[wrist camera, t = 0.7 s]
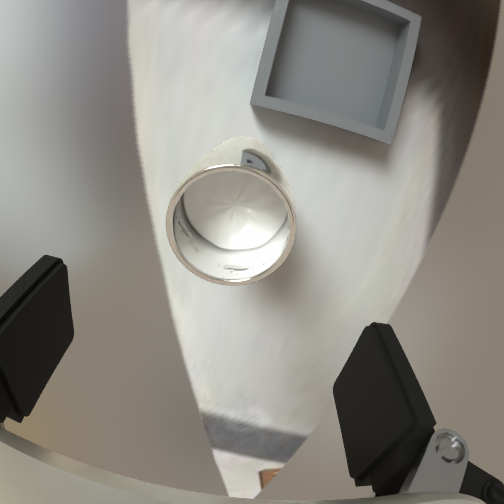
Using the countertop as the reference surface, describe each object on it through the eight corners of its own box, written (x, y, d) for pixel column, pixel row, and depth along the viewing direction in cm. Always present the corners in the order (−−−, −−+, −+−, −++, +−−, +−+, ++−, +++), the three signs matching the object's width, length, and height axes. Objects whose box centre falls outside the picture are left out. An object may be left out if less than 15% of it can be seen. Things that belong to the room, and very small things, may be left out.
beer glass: (243, 217, 32) (233, 311, 18) (189, 169, 30) (135, 231, 16) (295, 168, 29) (329, 229, 16) (240, 115, 27) (226, 128, 14)
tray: (282, -21, 21) (284, -32, 19) (407, 22, 22) (421, 16, 20) (250, 104, 27) (249, 104, 24) (379, 140, 28) (391, 145, 25)
